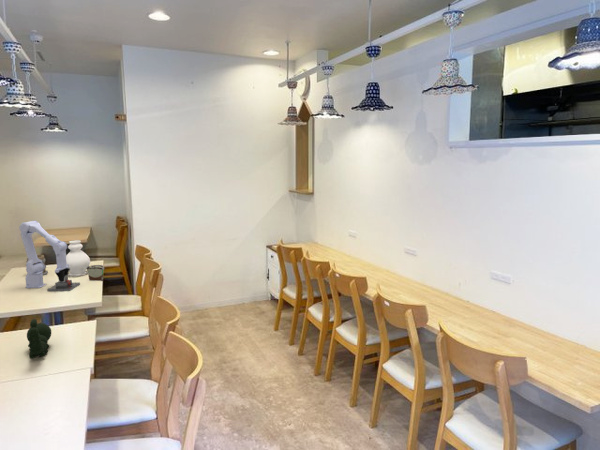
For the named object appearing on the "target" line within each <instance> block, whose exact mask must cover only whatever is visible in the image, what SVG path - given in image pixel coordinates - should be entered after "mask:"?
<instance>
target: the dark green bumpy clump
mask: <svg viewBox="0 0 600 450" xmlns="http://www.w3.org/2000/svg"><path fill="white" fill-rule="evenodd" d="M51 336H52V328H51V327H50V326H49V325H48V324H46V323H42V322H39V323H38V320H37V319H36V318H32V319H31V320H30V322H29V328H28V330H27V332H26V339H27V341H28V345H27V346H28V348H29V349H28V350H29V357H28V358H29V360H30V359H31V360H32V359H34V358H36V356H37V357H38V356H39V357H40V358H41V357H42V358H44V357H45V355H47V354H48V352H49V351H48V349H49V348H50V344H49V343H48V342H49V340H50V338H51Z"/></svg>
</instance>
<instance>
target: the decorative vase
mask: <svg viewBox="0 0 600 450" xmlns="http://www.w3.org/2000/svg"><path fill="white" fill-rule="evenodd" d="M68 242H69V245H67V249H69V252H68V253H66V260H67V264H69V268H70V270H69V272H68V277H80V276H85V275H88V271H87V270H86V268H87V266H91V259H90V257H89V255H87V253H86V252H84V251H83V249H82V248H83V244H82V243H81V242H82V241H81V240H80V239H76V240H70V241H68ZM81 249H82V250H81Z"/></svg>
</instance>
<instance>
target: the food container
mask: <svg viewBox="0 0 600 450" xmlns="http://www.w3.org/2000/svg"><path fill="white" fill-rule="evenodd" d="M104 270H105V266H104V265H102V264H90V265H89V266H87V268H86V270H85V271H86V272H87V276H88V280H89V281H91V282H92V281H93V282H95V281H99V282H102V281H104Z"/></svg>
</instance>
